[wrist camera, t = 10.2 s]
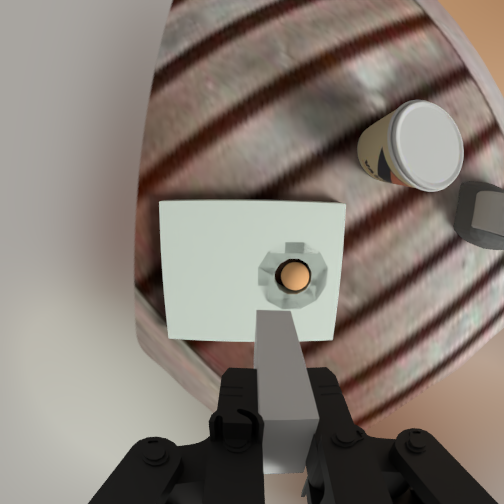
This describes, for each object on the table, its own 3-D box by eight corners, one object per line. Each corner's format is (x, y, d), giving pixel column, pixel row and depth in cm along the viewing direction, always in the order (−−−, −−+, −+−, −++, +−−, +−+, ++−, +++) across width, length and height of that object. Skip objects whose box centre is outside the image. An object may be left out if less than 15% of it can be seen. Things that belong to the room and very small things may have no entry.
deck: (172, 329, 40) (168, 338, 38) (165, 199, 36) (159, 201, 34) (328, 331, 40) (332, 339, 38) (339, 202, 36) (345, 203, 34)
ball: (276, 263, 36) (301, 272, 34) (292, 255, 38) (316, 263, 36) (274, 288, 37) (297, 298, 35) (290, 278, 39) (312, 288, 37)
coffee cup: (341, 170, 35) (380, 165, 24) (362, 106, 33) (405, 81, 22) (400, 198, 36) (452, 207, 24) (419, 138, 34) (472, 128, 22)
